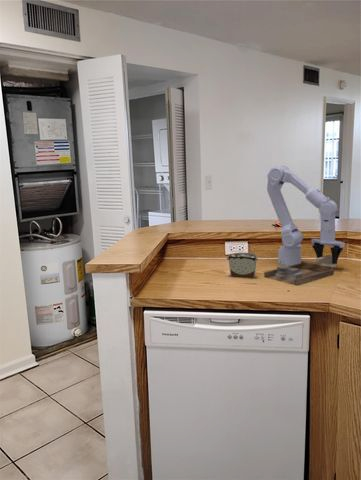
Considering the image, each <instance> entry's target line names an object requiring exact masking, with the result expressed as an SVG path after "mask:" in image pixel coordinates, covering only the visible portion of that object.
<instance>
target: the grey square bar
mask: <svg viewBox="0 0 361 480" xmlns="http://www.w3.org/2000/svg"><path fill="white" fill-rule="evenodd" d="M276 269H277V273H276V274H275V277H277V278H281V279H285V280H289V281H293V282H295V279H299V278H302V273H300V272H299V269H297V268H292V267H288V266H286V265H279V266H277V267H276Z"/></svg>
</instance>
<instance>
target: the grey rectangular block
mask: <svg viewBox="0 0 361 480" xmlns="http://www.w3.org/2000/svg"><path fill="white" fill-rule="evenodd" d="M315 264H321V265H326V266H331V267H332V269H333V268H337V267H338V262H337V263H336V264H332V254H327V255H324V256H323V257H320V258H317V257H316V258H315Z"/></svg>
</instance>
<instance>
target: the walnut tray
mask: <svg viewBox="0 0 361 480" xmlns="http://www.w3.org/2000/svg"><path fill="white" fill-rule="evenodd" d="M288 267H292V268H297V269H299V272H300V273H302V278H299V279H295V282H293V281H289V280H285V279H281V278H277V277H275V274H276V273H277V268H275V269H272V270H267V271H264V275H263V276H264V278H266V279H270V280H274V281H278V282H281V283H286V284H289V285H293V286H297V287H298V286H301V285H304V284H306V283H311V282H314V281H317V280H320V279H323V278H326V277H327V278H328V277H331V276H333V275H334V273H335V271H334V269H333V268H332V267H331V266H326V265H321V264H316V262H315V263H314V262H311V261H310V262H309V261H305V260H301V263H298V264H295V265H291V266H288Z"/></svg>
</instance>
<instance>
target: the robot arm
mask: <svg viewBox="0 0 361 480" xmlns="http://www.w3.org/2000/svg"><path fill="white" fill-rule="evenodd" d="M266 177H267V185H266V187H267V188H266V191H267V193H268V197H269V198H270V201H271V204H272V206H273V207H272V208H273V209H274V212H275V214H276V216H277V218H278V221H279V224H280V227H281V232H280V233H281V242H282V244H283V245H281V246H280V247H279V249H278V254H277V255H278V257H277V259H278V260H277V262H278V264H279V265H281V266H291V265H295V264H298V263H301V261H302V242H303V240H304V235H303V232H301V231H300V230H299V227H298V226H297V225H296V224H295V223H294V222H293V219H292V216H291V214H290V211H289V209H288V207H287V204H286V201H285V198H284V196H283V193H282V191H281V190H282V188H283V185H284V184H285V183H287V184H291V185H293V186H294V187H295V188H297V189H298V190H299V191H301V192H302V194H303V193H304V195H305V199H306V200H307V201H308V202H309V203H310V204H311V205H313V206H314V207H315V208H317V209H318V212H319V214H320V231H319V232H320V233H319V234H320V236H319V237H320V238H311V244H312V249H313V250H314V252H315V255H316V258H320V257H324V256H323V253H324V248H325V246H329V247H330V252H331V255H332V264H336V263H337V264H338V260H339V257H340V254H341V252H342V251H343V249H344V248H345V244H346V243H345V242H344V241H343V242H342V241H339V240H336V212H337V210H338V204H337V203H336V202H335V200H333V199H330V197H329V196H325V194H323V193H322V190H321V189H320V188H318V189H317V188H315V187H313V188H311V187H310V186H309V185H308V183H306V182H305V181H304V180H303V179H301V178H300V177H299V176H298V175H297V174H296V173H295V172H294V171H293V170H291V169H290V168H289V167H287V166H274V167H271V168H270V170H269V171H268V173H267V175H266Z"/></svg>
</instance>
